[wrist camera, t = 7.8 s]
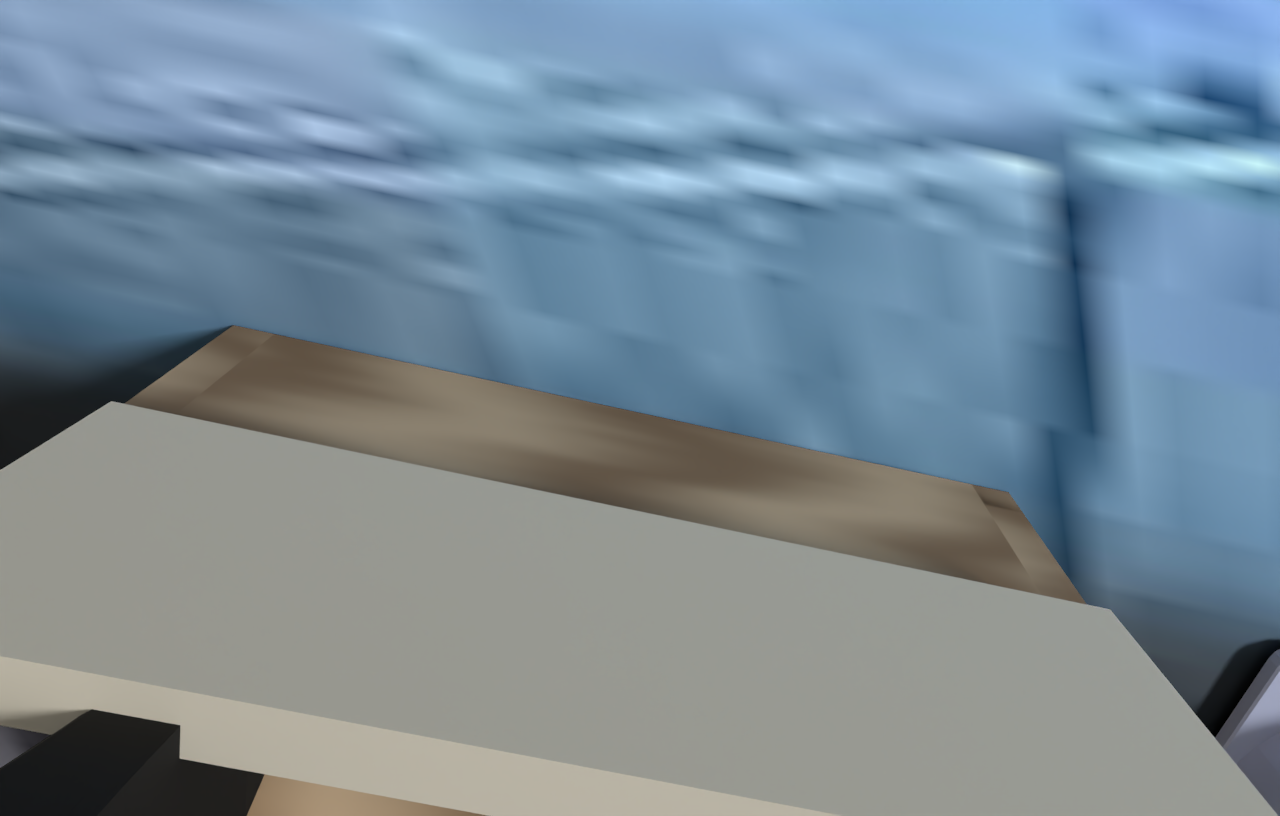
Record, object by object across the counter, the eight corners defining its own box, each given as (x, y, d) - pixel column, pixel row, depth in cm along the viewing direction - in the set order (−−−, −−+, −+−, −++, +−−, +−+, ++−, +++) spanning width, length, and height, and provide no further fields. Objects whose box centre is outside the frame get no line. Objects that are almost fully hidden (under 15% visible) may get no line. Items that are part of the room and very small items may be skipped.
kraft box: (1008, 492, 18) (1122, 655, 13) (787, 969, 25) (813, 1186, 20) (233, 325, 17) (73, 439, 12) (219, 868, 24) (112, 1072, 19)
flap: (1087, 652, 13) (1109, 609, 13) (1316, 969, 9) (1358, 912, 8) (112, 451, 12) (111, 400, 12) (-215, 684, 8) (-231, 613, 7)
